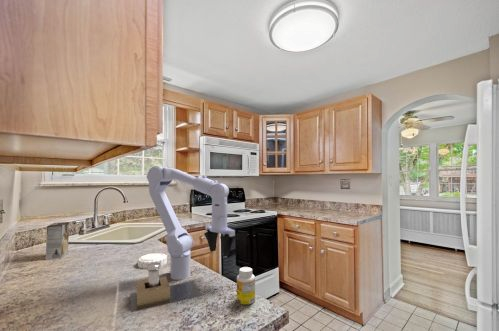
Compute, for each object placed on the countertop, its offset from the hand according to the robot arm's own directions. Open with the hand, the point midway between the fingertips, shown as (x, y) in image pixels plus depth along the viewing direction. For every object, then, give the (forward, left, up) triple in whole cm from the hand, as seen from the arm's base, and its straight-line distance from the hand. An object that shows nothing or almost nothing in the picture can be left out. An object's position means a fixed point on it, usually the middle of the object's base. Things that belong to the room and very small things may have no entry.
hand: (219, 253), depth 87 cm
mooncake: (-32, -20, -11) cm, 39 cm away
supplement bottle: (+18, +2, -11) cm, 21 cm away
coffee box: (-65, -61, -11) cm, 90 cm away
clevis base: (+3, -19, -10) cm, 22 cm away
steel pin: (+3, -23, -9) cm, 25 cm away
